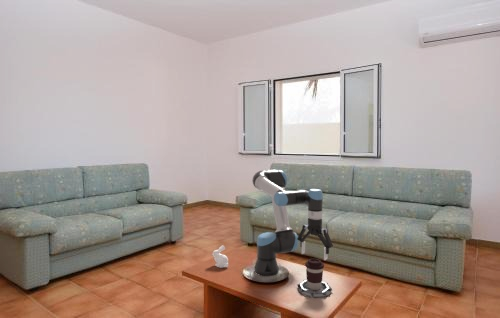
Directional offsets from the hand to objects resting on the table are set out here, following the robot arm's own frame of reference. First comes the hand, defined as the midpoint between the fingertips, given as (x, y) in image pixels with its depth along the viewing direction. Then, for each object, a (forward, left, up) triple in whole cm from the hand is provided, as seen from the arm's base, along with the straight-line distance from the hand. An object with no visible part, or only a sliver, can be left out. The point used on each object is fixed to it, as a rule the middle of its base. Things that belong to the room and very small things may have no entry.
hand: (314, 256), depth 174 cm
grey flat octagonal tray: (0, 0, -19) cm, 19 cm away
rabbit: (-64, -9, -19) cm, 67 cm away
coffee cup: (0, 0, -17) cm, 17 cm away
